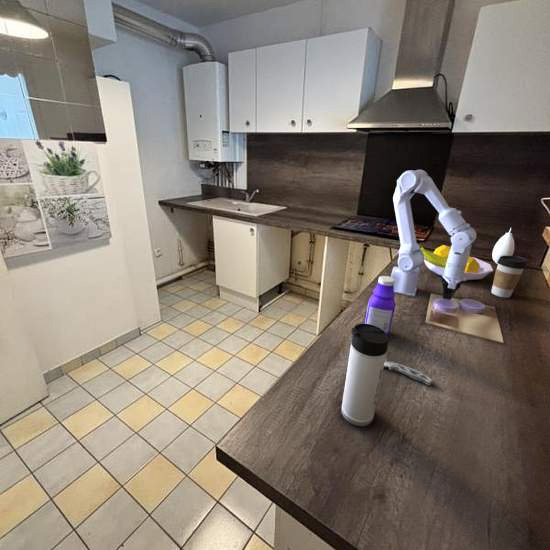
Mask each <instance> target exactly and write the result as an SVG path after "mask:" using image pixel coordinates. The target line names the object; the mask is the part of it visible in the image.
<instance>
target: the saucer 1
mask: <svg viewBox="0 0 550 550" xmlns="http://www.w3.org/2000/svg"><path fill="white" fill-rule="evenodd" d="M433 307H434V308H435V309H437V310H439V311H442V312H446V313H455V312H456V311H457V308H458V305H457V303H455V302H454V301H451V300H448V299H443V298H437V299H435V300H434V303H433Z"/></svg>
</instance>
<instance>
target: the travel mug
mask: <svg viewBox="0 0 550 550" xmlns="http://www.w3.org/2000/svg"><path fill="white" fill-rule="evenodd" d="M350 333H351V334H352V337H351V342H350V347H349V354H348V355H349V356H348V361H347V368H346V376H345V382H344V390H343V395H342V401H341V402H342V403H341V409H340V411H341V414H342V416H343V418H344V420H346V422H348V423H350V424H352V425H354V426H357V427H367V426H369V425H370V424H371V423H372V422H373V420H374V417H375V412H376V407H377V401H378V397H379V392H380V388H381V384H382V383H381V382H382V379H383V373H384V368H385V367H384V364H385V359H387V354H388V347H389V343H390V337H389V334H388V335H387V334H386V333H384V331H383V330H382V329H381V328H379V327H376V326H374V325H370V324H365V323H357V324H355V325H354V327H352V328H351V331H350Z"/></svg>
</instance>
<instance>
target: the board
mask: <svg viewBox="0 0 550 550" xmlns="http://www.w3.org/2000/svg"><path fill="white" fill-rule="evenodd" d="M437 298H443V295H441V294H436V293H431V292H430V297H429V301H428V306H427V311H426V317H425V320H424V321H425V323H426V324H430V325H432V326H433V325H434V326H438V327H441V328H444V329H445V328H446V329H449V330H453V331H457V332H460V333H463V334H468V335H471V336H475V337H478V338H483V339H487V340H491V341H495V342H499V343H502V344H503V343H505V342H504V338H503V334H502V330H501V326H500V322H499V318H498V314H497V309H496V307H495V306H492V305H487V304H484V305H485V309H484V312H483V313H480V314H477V313H471V312H467V311H465V310H463V309H461V308H460V307H459V304H460V301H461V300H462V299H459V298H454V297H452V298H451V301H454V302H455V303H457V305H458V308H457V311H456V312H455V313H446V312H442V311H439V310H437V309H435V308H434V307H433V303H434V300H435V299H437Z"/></svg>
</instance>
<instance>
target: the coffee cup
mask: <svg viewBox="0 0 550 550" xmlns="http://www.w3.org/2000/svg"><path fill="white" fill-rule="evenodd" d="M497 263H498V264H497V266H496V268H495V273H494V277H493V282H492V287H491V292H490V293H491V294H492V295H494V296H496V297H500V298H506V299H507V298H511V296H512V295H513V292H514V290H515V288H516V286H517V285H518V283H519V281H520V279H521V277H522V275H523V271H524V270H525V269H526V268H527V263H528V259H527V258H525V257H522V256H518V255H512V256H500V258H499V260H498V262H497Z"/></svg>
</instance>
